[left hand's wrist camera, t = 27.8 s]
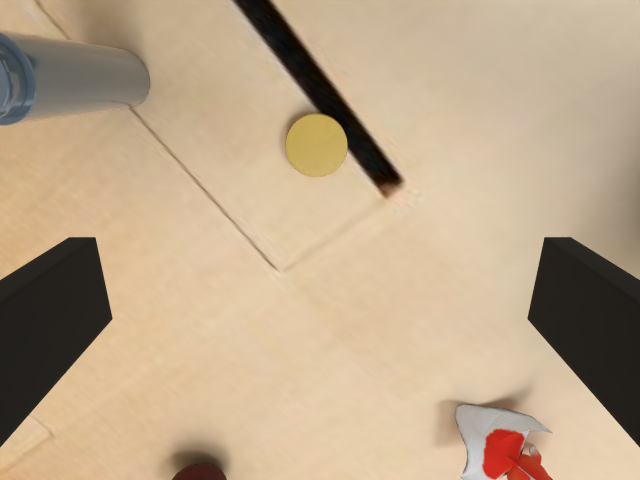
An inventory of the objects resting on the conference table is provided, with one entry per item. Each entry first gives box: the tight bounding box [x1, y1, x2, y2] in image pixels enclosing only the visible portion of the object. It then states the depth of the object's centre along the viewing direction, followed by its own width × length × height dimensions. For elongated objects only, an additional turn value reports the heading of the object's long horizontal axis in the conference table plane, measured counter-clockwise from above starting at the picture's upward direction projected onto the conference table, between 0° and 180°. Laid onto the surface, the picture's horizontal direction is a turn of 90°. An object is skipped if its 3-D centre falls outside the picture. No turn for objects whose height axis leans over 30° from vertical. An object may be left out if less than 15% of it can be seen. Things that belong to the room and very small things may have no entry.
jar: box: [0, 29, 150, 125], centre depth 28 cm, size 5×5×17 cm
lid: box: [286, 113, 347, 177], centre depth 38 cm, size 6×6×2 cm
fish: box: [455, 404, 553, 480], centre depth 47 cm, size 11×16×10 cm
